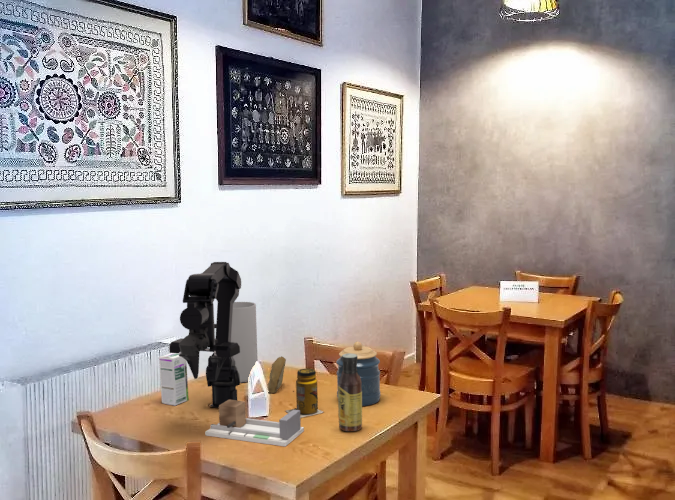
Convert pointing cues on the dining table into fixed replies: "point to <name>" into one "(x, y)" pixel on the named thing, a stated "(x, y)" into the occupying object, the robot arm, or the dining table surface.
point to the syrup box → (173, 379)
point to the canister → (364, 372)
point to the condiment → (306, 393)
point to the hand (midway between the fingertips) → (205, 379)
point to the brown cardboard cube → (232, 413)
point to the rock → (276, 374)
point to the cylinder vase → (244, 337)
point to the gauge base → (262, 430)
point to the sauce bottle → (350, 395)
